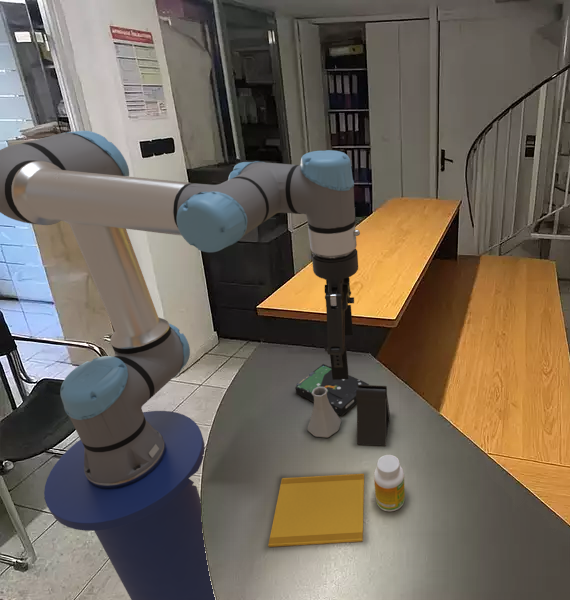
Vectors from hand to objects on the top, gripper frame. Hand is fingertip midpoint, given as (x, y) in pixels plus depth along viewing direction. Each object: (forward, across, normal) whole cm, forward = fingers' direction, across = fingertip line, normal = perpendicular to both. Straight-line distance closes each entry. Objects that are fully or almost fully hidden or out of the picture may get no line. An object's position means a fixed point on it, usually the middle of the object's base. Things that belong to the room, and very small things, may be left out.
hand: (343, 354), depth 90 cm
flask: (+24, +6, +6) cm, 25 cm away
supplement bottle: (+24, -14, -8) cm, 28 cm away
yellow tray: (+24, -15, +5) cm, 28 cm away
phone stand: (+24, +4, -5) cm, 25 cm away
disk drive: (+24, +17, +6) cm, 30 cm away
